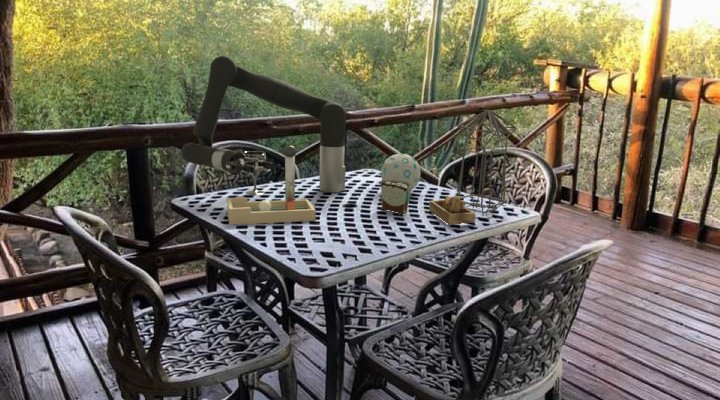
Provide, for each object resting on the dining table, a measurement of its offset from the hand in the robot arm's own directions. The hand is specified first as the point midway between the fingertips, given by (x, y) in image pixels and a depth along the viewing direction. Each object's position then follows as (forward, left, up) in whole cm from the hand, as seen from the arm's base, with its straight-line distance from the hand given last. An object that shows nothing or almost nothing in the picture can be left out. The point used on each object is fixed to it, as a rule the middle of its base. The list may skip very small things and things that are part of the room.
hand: (263, 167), depth 190 cm
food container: (-44, +9, -14) cm, 48 cm away
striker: (-7, +9, -12) cm, 17 cm away
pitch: (0, +9, -14) cm, 17 cm away
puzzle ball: (-53, -15, -14) cm, 57 cm away
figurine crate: (-58, +21, -14) cm, 64 cm away
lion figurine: (-58, +21, -14) cm, 64 cm away
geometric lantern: (-70, +18, -14) cm, 74 cm away
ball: (+1, +9, -11) cm, 14 cm away
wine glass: (+1, -23, -14) cm, 28 cm away
